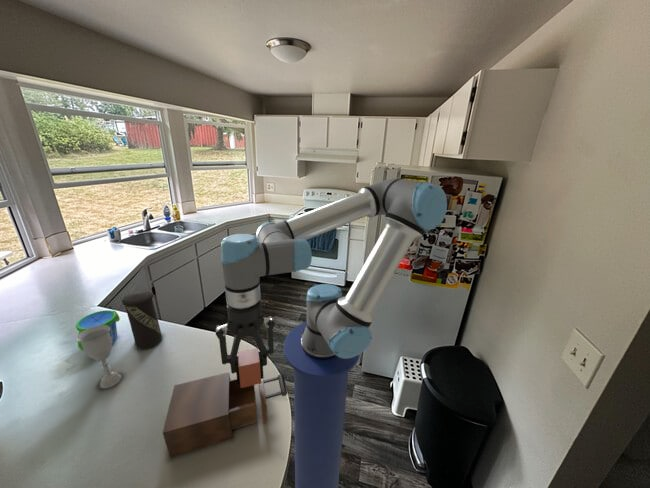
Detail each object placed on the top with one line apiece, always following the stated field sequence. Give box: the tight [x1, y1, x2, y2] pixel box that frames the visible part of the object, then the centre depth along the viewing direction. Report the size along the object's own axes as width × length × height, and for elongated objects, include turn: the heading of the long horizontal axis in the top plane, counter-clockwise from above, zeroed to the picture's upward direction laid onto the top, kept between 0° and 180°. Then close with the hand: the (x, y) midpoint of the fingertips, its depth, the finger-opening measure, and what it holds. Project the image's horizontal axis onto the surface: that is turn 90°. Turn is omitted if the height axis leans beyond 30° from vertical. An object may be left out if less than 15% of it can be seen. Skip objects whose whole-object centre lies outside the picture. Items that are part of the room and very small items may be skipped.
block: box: [237, 347, 261, 388], centre depth 64 cm, size 5×5×7 cm
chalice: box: [76, 325, 122, 389], centre depth 73 cm, size 7×7×18 cm
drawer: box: [229, 373, 288, 431], centre depth 68 cm, size 18×11×7 cm, turn 109°
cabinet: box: [162, 371, 233, 458], centre depth 64 cm, size 14×13×9 cm
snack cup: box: [75, 309, 121, 351], centre depth 89 cm, size 16×10×10 cm
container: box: [121, 289, 163, 350], centre depth 88 cm, size 9×9×20 cm
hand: (250, 376), depth 65 cm, fingers closed on block, 5 cm apart
